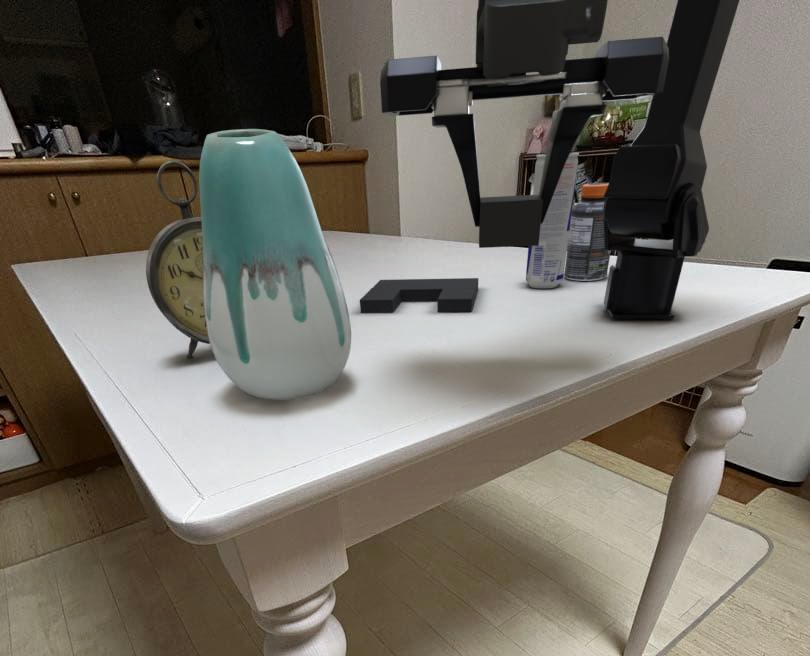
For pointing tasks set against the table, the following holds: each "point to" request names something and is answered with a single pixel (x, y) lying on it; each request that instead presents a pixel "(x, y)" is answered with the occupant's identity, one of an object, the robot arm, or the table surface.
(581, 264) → the pill bottle
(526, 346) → the table surface
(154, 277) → the alarm clock
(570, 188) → the beverage can
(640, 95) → the robot arm
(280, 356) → the vase
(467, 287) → the base pad
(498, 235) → the pad
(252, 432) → the table surface
